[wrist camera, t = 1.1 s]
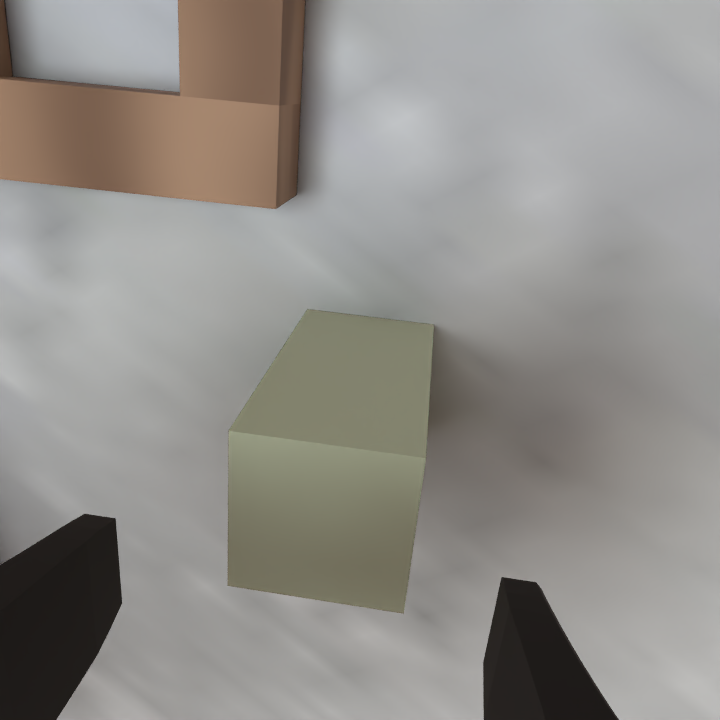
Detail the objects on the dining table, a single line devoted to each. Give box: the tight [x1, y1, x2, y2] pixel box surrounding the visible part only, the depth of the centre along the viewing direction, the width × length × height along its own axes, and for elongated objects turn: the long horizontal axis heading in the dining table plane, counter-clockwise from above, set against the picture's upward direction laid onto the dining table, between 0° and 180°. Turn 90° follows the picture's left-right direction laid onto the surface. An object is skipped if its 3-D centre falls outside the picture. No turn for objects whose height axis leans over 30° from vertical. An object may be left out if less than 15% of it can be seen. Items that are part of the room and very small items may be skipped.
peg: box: [228, 309, 434, 614], centre depth 17 cm, size 4×4×8 cm
